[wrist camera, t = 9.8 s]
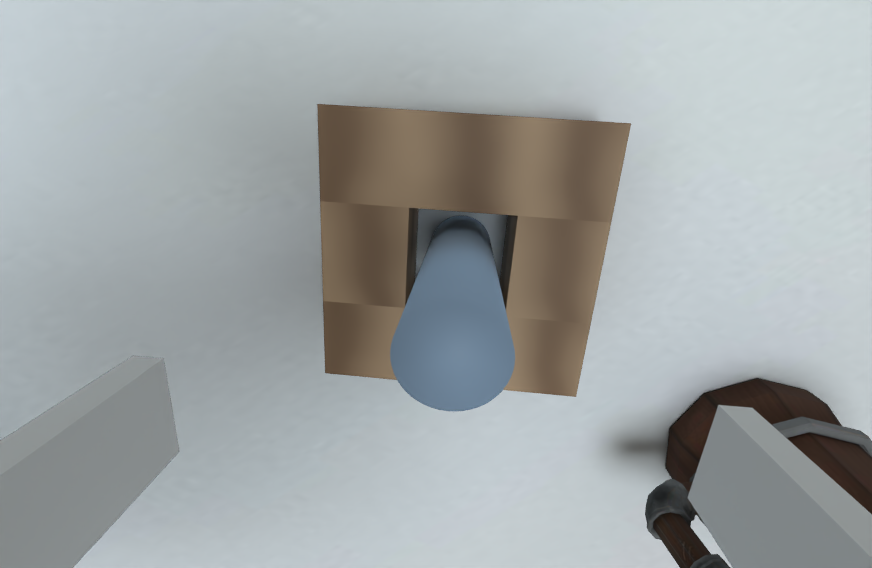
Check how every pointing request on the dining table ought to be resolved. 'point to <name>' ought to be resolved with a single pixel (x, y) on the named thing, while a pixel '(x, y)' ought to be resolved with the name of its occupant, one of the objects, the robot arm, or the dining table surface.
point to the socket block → (466, 192)
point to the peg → (455, 323)
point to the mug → (787, 412)
